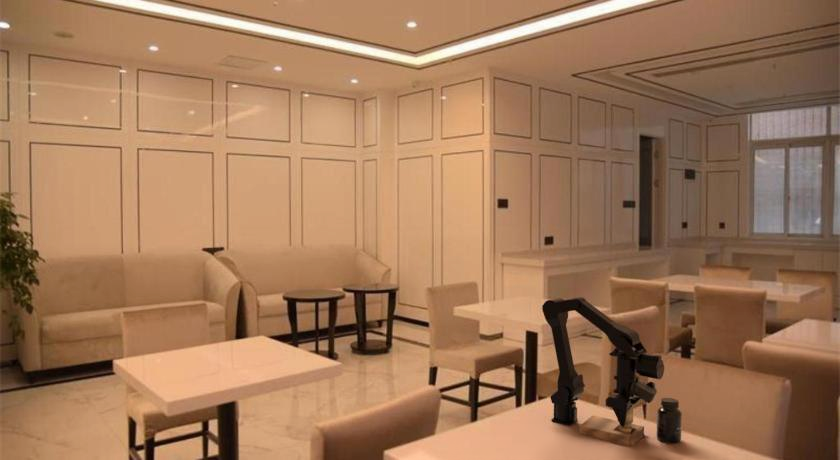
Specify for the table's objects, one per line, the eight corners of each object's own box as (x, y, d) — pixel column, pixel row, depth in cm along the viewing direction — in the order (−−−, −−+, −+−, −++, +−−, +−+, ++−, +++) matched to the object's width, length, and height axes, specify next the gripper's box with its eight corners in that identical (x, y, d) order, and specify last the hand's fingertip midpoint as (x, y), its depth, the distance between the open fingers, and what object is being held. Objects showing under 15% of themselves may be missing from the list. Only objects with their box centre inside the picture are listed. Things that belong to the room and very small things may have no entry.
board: (579, 433, 181) (580, 425, 181) (592, 423, 190) (592, 415, 190) (633, 446, 172) (633, 437, 172) (644, 434, 181) (644, 426, 181)
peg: (615, 434, 178) (615, 404, 177) (619, 429, 181) (620, 400, 181) (630, 437, 175) (630, 407, 175) (634, 433, 179) (635, 403, 178)
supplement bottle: (683, 445, 173) (684, 404, 173) (658, 443, 175) (659, 402, 174) (678, 436, 180) (679, 397, 179) (654, 434, 181) (655, 395, 181)
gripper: (645, 384, 165) (643, 440, 166) (662, 370, 180) (661, 420, 181) (605, 377, 172) (604, 430, 173) (625, 364, 187) (624, 413, 188)
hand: (624, 423), depth 178 cm, fingers closed on peg, 4 cm apart
